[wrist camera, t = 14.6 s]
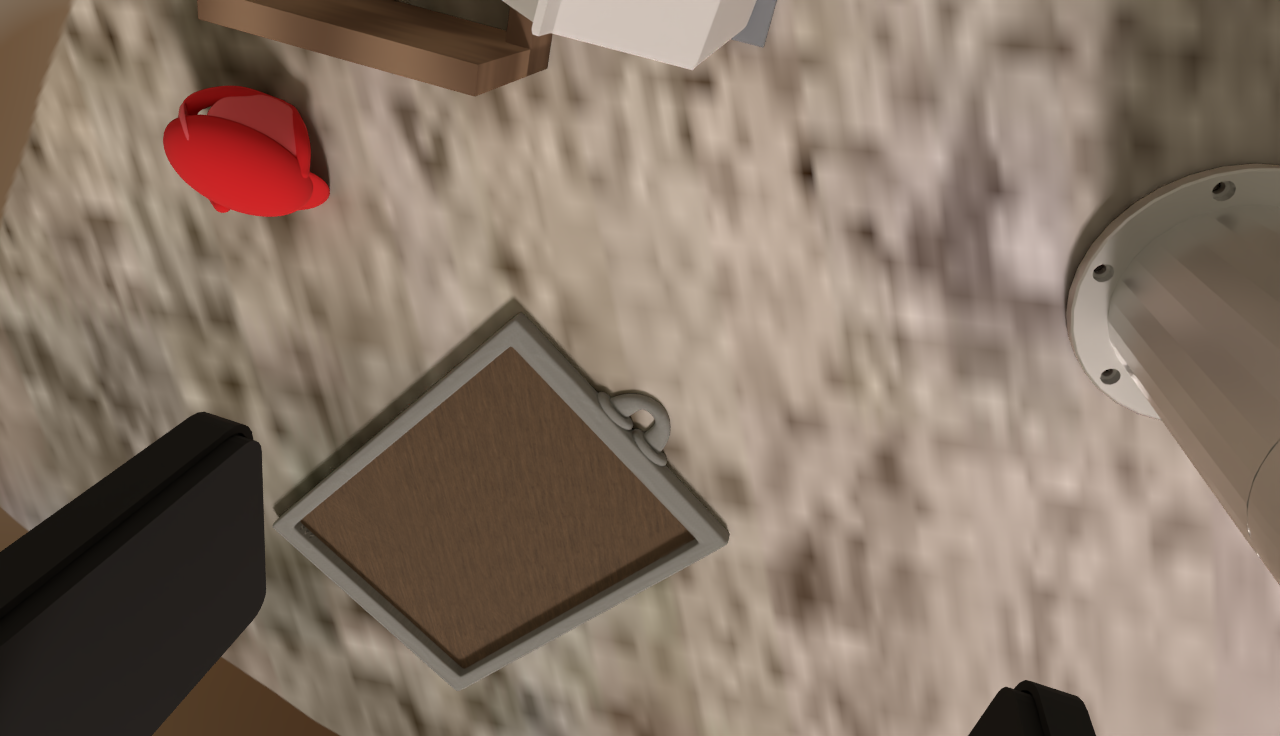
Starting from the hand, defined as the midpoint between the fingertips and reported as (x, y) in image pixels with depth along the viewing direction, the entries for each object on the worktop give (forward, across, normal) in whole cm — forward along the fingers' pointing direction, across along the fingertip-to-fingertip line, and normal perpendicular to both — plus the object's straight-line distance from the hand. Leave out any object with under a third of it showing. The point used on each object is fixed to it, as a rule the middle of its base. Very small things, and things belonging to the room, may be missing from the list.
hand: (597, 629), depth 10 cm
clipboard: (+33, +10, +29) cm, 45 cm away
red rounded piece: (+33, +26, +8) cm, 42 cm away
